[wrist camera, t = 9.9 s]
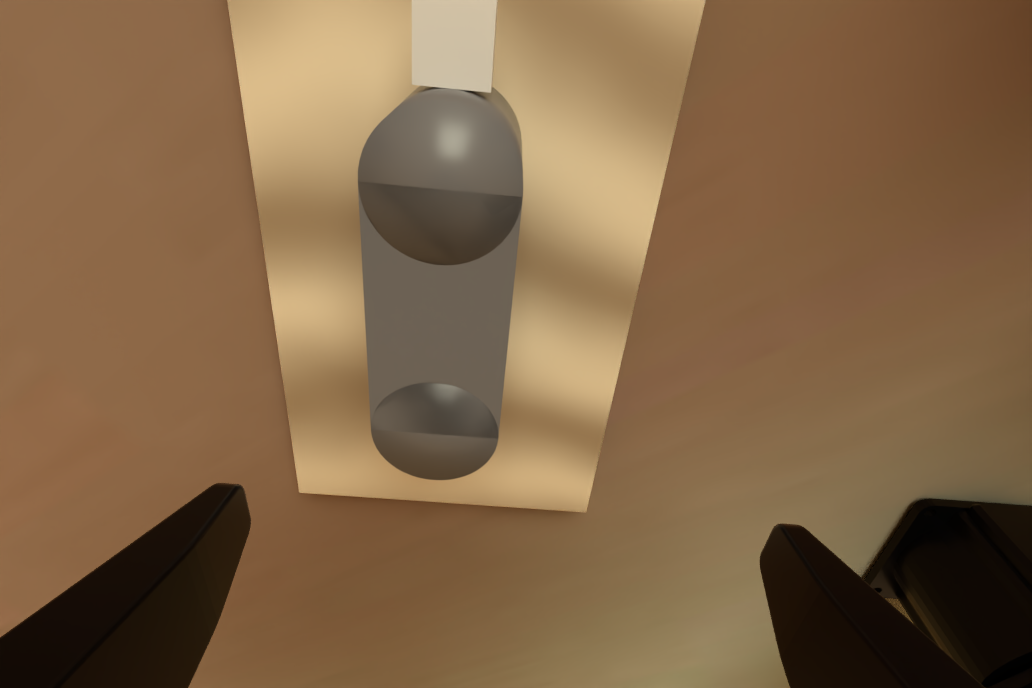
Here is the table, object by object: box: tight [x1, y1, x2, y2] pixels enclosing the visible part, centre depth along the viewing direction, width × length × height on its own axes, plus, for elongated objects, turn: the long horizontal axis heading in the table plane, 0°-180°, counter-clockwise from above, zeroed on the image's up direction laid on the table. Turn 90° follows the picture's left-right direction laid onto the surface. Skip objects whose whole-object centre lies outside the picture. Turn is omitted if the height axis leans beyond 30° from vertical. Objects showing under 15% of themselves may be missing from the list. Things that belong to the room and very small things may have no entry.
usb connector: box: [358, 0, 523, 480], centre depth 16 cm, size 13×4×4 cm, turn 175°
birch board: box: [227, 0, 705, 512], centre depth 18 cm, size 22×12×1 cm, turn 174°
